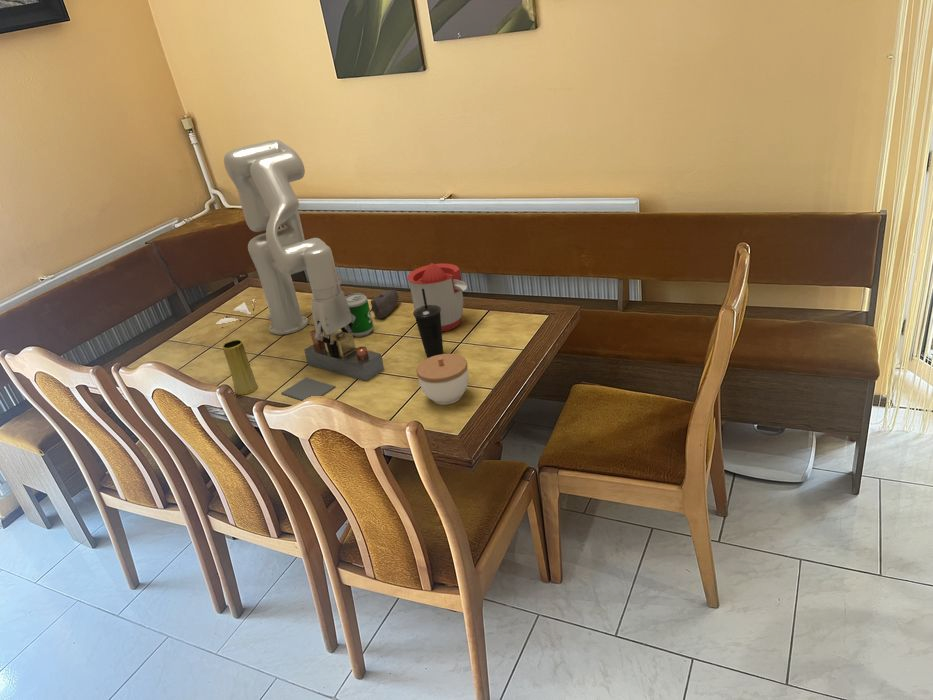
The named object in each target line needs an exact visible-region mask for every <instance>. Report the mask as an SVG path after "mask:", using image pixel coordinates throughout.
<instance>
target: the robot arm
mask: <svg viewBox="0 0 933 700" xmlns="http://www.w3.org/2000/svg"><path fill="white" fill-rule="evenodd" d="M223 163H224V168H225V171H226V174H227V175H228V177H229V178H230V180H231V181H232V183H233V185H234V186H235V187H236V190H237V193H238V197H239V200H240V204H241V209H242V212H243V216H244V220H245V223H246V226H248V228H249V230H250V231H252V232H255V233H260V232H265V233H261V234H258V235H256V236H254V237H253V238H251V239H250V240H249V242H248V244H247V251H248V253H249V256H250V258H251V260H252V262H253V264H254V267H255V269H256V271H257V275H258V277H259V282H260V284H261V287H262V291H263V293H264V297H265V300H266V304H267V308H268V311H269V314H267V316H266V318H267V319H268V320H270V322H271V324H270V325H269V328H268V329H269V332H270V333H271V334H272V335H278V336H280V335H288V334H289V335H290V334H293V333H297V332H299V331H301V330H302V329H304V328H305V327H307V326H308V324H309V320H308V318H307V316H304V315H302V312H301V311H302V310H301V307H300V305H299V300H298V296H297V294H296V293H297V292H296V290H295V289H296V288H295V286H294V285H295V284H294V282H293V278H292V275H294V274H295V275H296V274H297V273H300V272H303V271H306V275H307V278H308V281H309V286H310V289H311V292H312V300H311V314H312V319H313V325H314V329H316V334H315V339H316V340H320V341H322V342H324V343H326V344H327V348H328V351H329V354H330V355H332V356H336V357H337V356H339V354H338V350H337V346H336V343H334V332H336V331H341V332H346V333H350V334H351V328H352V326H353V322H354V320H355V318H356V317H355V316H354V315H353V314H352V313H351V312H350V309H349V305H348V303H347V300H346V296H345V293H344V291H343V290H342V289H341V285H342V281H341V279H339V277H338V273H337V269H336V265H335V261H334V256H333V255H334V254H333V252H332V249H331V247H330V246H329V245H327V244H326V243H325V241H323V240H322V239H321V238H319V237H311V238H309V239H305V235H304V230H303V226H302V221H301V217H300V216H301V215H300V212H299V208H300V201H299V199H298V197H297V195H296V194H295V191H294V189H293V188H292V185H291V183H292V182H296V181H300V180H302V179H303V178H304V177H305V174H306V173H305V172H306V171H305V166H304V165H305V164H304V162H303V160H302V158H301V157H300V155H299V154H298V153H297V152H296V151H295V150H294V149H293V148H292V147H290V146H289V145H287V144H285V143H284V142H283V141H281V140H279V139H272V140H267V141H263V142H258V143H256V144H255V143H254V144H249V145H246V146H245V145H244V146H241V147H238V148H235V149H232V150H230V151H228V152H227V153H225V154H224V156H223ZM281 226H284V227H282V228H280V227H281ZM322 333H323V336H324V337H323V336H322ZM328 335H329V339H328Z"/></svg>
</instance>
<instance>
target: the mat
mask: <svg viewBox="0 0 933 700" xmlns="http://www.w3.org/2000/svg"><path fill="white" fill-rule="evenodd" d="M334 389H336V385H333V384H329V383H326V382H323V381H321V380H320V381H318V380H316V379H312V378H309V377H305V378H302V379H301V380H299V381H297V382H296V383H295V384H293V385H291V386H290V387H288V388H287V389H285V390H283V391H281V392H280V394H281V395H283V396H287V397H288V398H289V397H290V398H292V399H295V400H298V401H301V402H303V401H302V400H304V399H306V398H308V397H311V396H322V397H323V396H324V395H327V394H328V393H329V392H331V391H332V390H334Z"/></svg>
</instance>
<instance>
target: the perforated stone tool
mask: <svg viewBox="0 0 933 700" xmlns="http://www.w3.org/2000/svg"><path fill="white" fill-rule="evenodd" d="M398 302H399V293H398V292H397V290H395V289H388V290H386V291H383V292H382V293H380V294H378V295H376V296H375V297H374V298H373V299H371V300H370V305H371V310H370V311H371V313H373V315H374V317H375V318H378V319H383V318H385V317H387V316H388V315H389V314H390V313H392V311H394V309H395V308H396V306H397V304H398Z"/></svg>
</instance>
